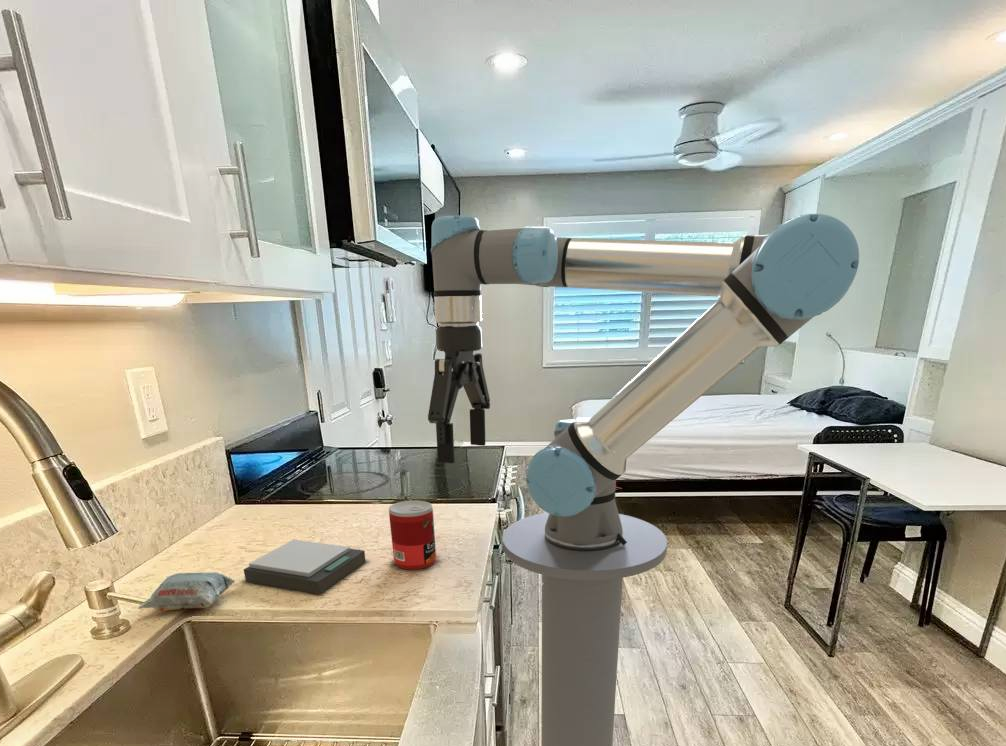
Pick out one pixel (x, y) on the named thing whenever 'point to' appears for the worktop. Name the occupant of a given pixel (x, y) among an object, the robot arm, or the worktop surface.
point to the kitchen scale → (304, 566)
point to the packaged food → (188, 591)
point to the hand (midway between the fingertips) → (463, 453)
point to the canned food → (412, 534)
